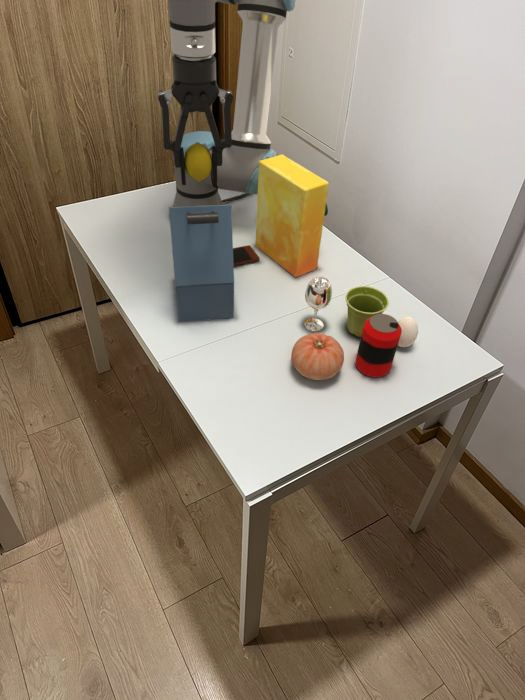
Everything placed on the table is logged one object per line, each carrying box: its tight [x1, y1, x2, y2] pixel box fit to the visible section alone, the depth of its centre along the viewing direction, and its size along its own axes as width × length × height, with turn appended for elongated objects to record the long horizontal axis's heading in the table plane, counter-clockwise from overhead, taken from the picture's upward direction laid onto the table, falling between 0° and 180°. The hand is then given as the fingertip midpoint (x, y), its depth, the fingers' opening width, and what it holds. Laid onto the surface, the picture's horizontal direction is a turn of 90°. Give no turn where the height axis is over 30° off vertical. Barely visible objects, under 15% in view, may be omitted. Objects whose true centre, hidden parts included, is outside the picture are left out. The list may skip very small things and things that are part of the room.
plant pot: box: [344, 285, 390, 338], centre depth 119 cm, size 9×9×9 cm
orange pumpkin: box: [290, 332, 345, 381], centre depth 109 cm, size 11×11×8 cm
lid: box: [168, 204, 235, 287], centre depth 108 cm, size 16×13×7 cm
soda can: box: [355, 313, 402, 378], centre depth 109 cm, size 8×8×12 cm
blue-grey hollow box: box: [175, 282, 235, 323], centre depth 124 cm, size 16×13×10 cm
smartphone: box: [233, 245, 261, 267], centre depth 139 cm, size 7×1×15 cm
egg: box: [397, 316, 419, 348], centre depth 116 cm, size 5×5×8 cm
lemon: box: [184, 142, 212, 182], centre depth 105 cm, size 6×6×8 cm
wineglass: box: [303, 275, 333, 332], centre depth 118 cm, size 6×6×12 cm
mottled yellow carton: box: [255, 154, 330, 278], centre depth 134 cm, size 18×12×24 cm
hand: (199, 181), depth 107 cm, fingers closed on lemon, 6 cm apart
